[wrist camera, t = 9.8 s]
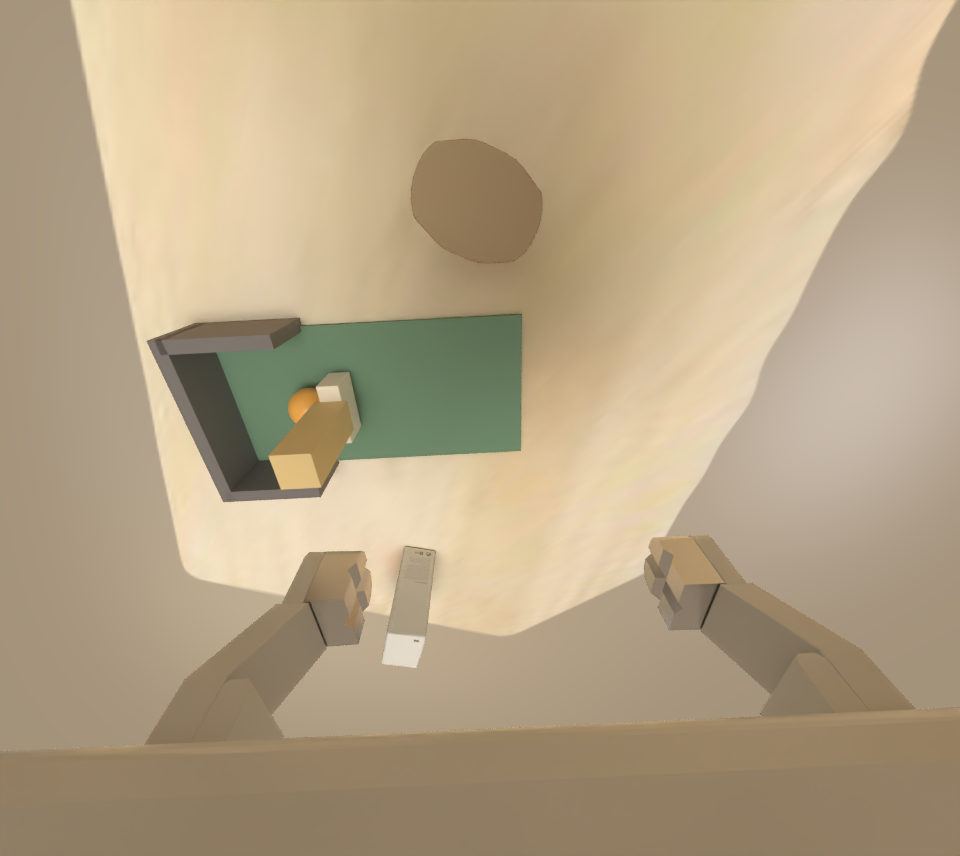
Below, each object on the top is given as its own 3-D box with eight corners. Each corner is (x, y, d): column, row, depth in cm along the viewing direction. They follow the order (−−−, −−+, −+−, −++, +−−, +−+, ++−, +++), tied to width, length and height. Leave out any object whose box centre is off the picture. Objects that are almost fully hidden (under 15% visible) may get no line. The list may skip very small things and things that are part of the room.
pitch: (193, 331, 36) (190, 332, 35) (521, 314, 36) (521, 314, 35) (247, 463, 43) (246, 465, 42) (520, 449, 43) (520, 450, 42)
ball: (274, 391, 36) (294, 401, 34) (313, 378, 39) (334, 387, 36) (286, 428, 38) (306, 440, 35) (323, 413, 40) (344, 423, 38)
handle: (498, 257, 33) (517, 280, 20) (428, 227, 32) (399, 230, 19) (520, 197, 31) (558, 178, 18) (447, 163, 30) (429, 115, 17)
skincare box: (404, 545, 49) (386, 632, 39) (436, 549, 50) (427, 636, 39) (397, 576, 52) (380, 665, 42) (428, 580, 53) (418, 669, 42)
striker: (323, 373, 37) (261, 437, 26) (354, 371, 37) (304, 435, 26) (337, 426, 40) (286, 505, 29) (365, 425, 40) (326, 503, 29)
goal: (195, 323, 35) (146, 341, 30) (299, 318, 35) (269, 334, 30) (253, 467, 43) (223, 502, 38) (338, 463, 43) (320, 496, 38)
